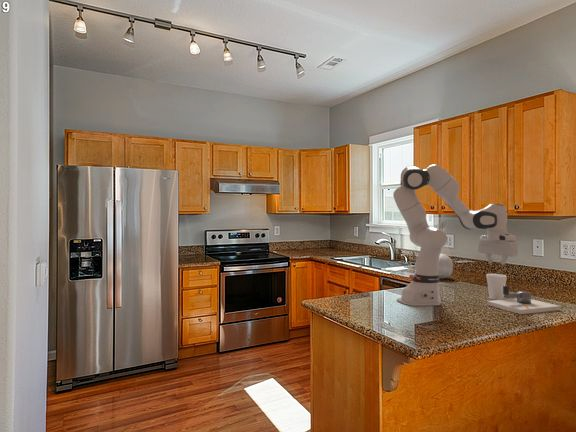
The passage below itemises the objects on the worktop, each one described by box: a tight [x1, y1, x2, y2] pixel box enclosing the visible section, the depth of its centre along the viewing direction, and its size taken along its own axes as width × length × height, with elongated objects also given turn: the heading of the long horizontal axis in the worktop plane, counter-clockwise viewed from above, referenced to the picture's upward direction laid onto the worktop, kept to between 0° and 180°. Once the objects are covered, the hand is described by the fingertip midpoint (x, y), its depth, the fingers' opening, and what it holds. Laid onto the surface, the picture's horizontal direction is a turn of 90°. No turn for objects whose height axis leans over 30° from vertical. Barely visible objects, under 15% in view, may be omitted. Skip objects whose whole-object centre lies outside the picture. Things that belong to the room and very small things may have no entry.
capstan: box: [503, 284, 532, 304], centre depth 180 cm, size 16×6×9 cm, turn 109°
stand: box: [486, 298, 561, 315], centre depth 180 cm, size 26×18×2 cm
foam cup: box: [486, 273, 508, 301], centre depth 198 cm, size 10×9×13 cm
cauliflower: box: [414, 253, 454, 280], centre depth 265 cm, size 20×25×22 cm
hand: (496, 263), depth 183 cm, fingers open, 6 cm apart
